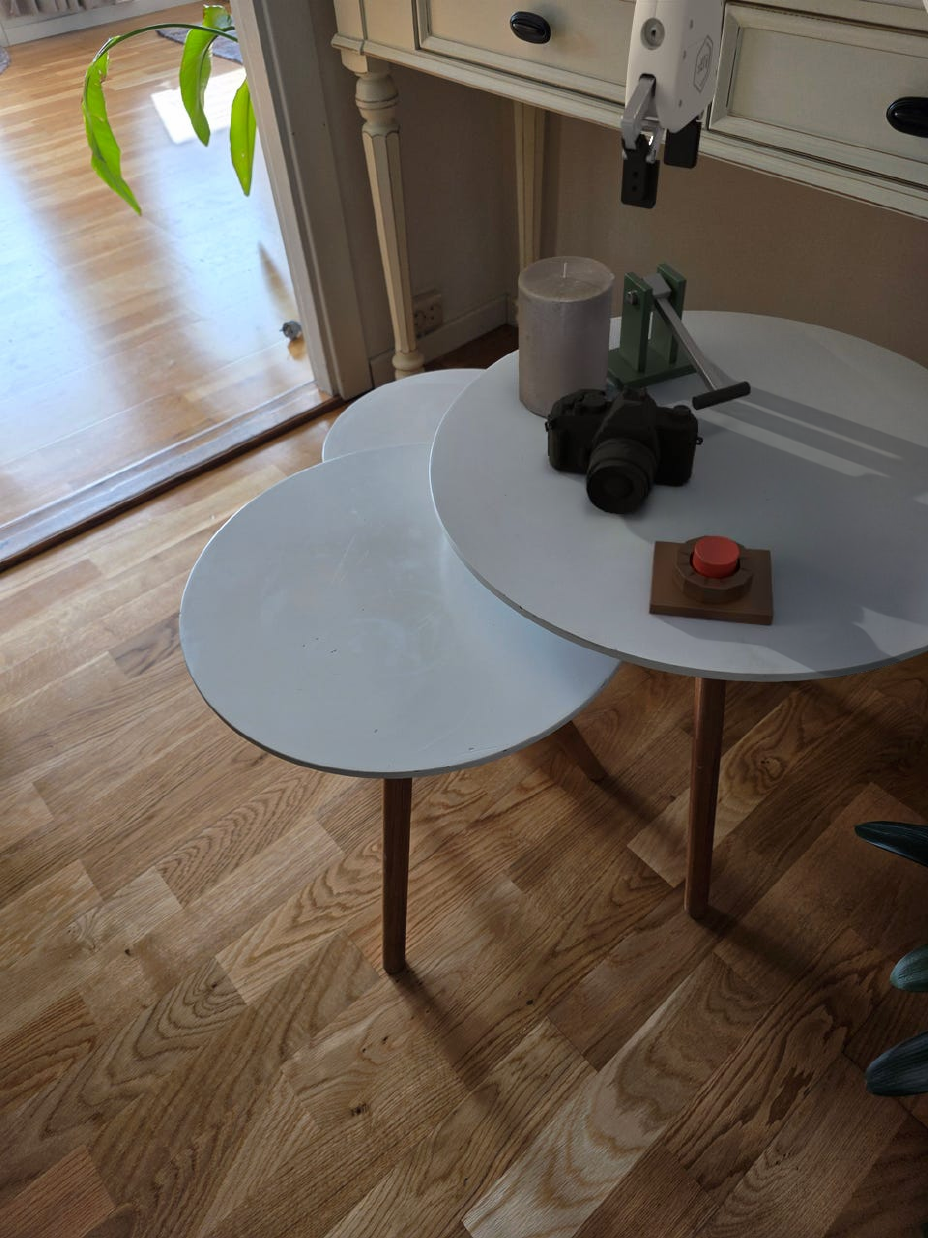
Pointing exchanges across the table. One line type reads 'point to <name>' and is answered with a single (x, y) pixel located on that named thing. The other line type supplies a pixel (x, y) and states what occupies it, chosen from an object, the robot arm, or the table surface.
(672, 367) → the bracket
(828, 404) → the table surface
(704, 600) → the button block
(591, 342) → the pillar candle
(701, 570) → the button
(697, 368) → the lever
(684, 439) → the film camera
